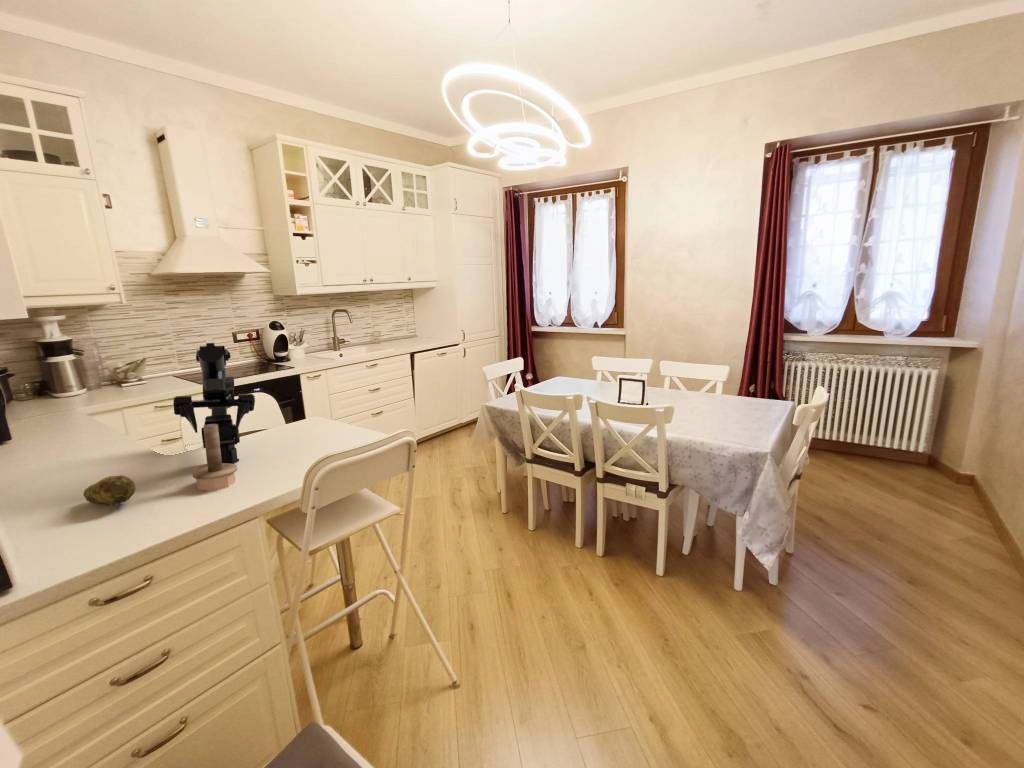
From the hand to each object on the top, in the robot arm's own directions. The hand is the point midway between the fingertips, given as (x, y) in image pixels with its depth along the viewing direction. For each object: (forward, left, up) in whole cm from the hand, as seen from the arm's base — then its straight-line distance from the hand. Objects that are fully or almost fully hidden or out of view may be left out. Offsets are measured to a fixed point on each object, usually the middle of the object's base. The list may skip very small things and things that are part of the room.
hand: (217, 430), depth 121 cm
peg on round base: (+1, -4, -10) cm, 11 cm away
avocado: (-15, -17, -14) cm, 27 cm away
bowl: (+1, -4, -14) cm, 14 cm away
